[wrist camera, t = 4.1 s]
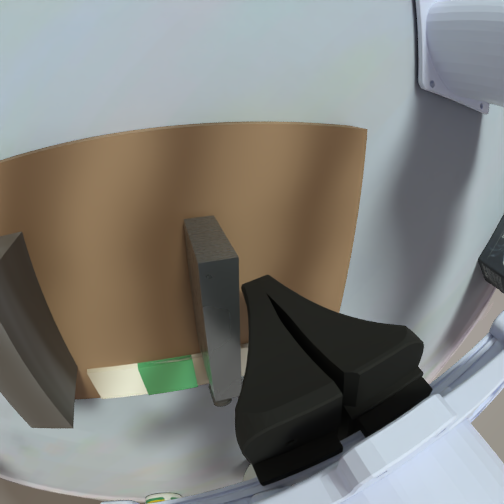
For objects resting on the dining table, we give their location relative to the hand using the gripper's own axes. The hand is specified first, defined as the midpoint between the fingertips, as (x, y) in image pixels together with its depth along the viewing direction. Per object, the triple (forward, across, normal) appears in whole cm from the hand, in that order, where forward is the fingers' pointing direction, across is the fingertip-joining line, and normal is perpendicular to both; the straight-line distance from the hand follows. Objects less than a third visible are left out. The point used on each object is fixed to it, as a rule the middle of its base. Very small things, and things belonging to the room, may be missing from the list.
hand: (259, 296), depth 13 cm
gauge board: (+3, +3, -1) cm, 4 cm away
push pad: (+1, +3, +1) cm, 3 cm away
